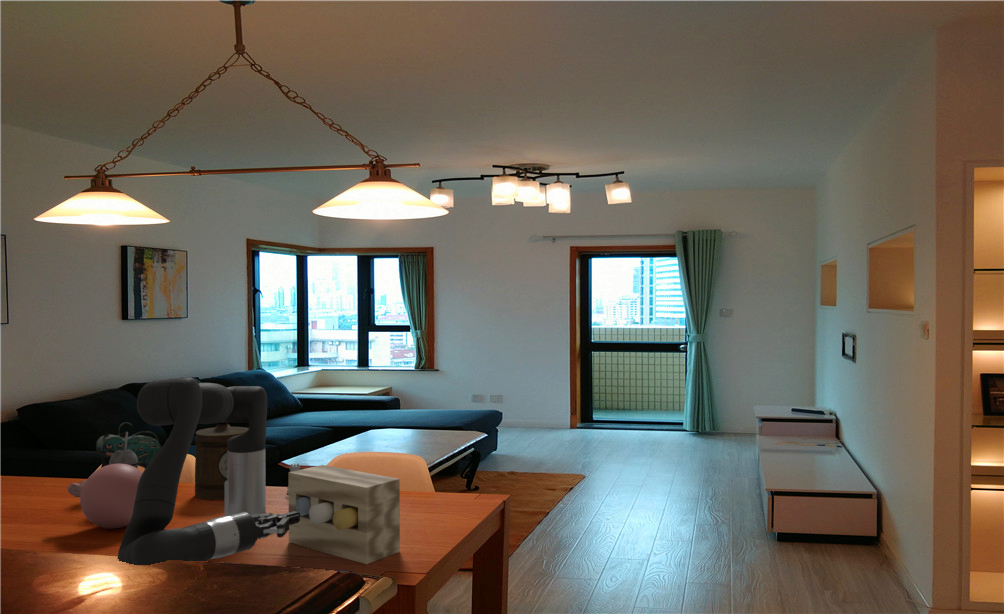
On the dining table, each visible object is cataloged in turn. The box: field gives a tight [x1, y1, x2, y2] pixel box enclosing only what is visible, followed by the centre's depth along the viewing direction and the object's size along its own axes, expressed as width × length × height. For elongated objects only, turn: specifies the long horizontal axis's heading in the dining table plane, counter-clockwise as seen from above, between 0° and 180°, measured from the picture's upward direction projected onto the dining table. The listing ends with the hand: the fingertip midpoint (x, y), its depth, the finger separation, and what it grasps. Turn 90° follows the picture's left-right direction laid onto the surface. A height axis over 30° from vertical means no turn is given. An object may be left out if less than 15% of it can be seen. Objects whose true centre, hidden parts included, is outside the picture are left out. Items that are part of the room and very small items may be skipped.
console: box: [288, 464, 401, 565], centre depth 176 cm, size 10×25×16 cm, turn 54°
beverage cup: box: [109, 431, 139, 469], centre depth 210 cm, size 7×7×20 cm
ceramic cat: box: [95, 421, 163, 470], centre depth 230 cm, size 20×6×20 cm, turn 147°
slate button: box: [296, 496, 311, 516], centre depth 178 cm, size 5×4×4 cm
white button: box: [309, 501, 334, 524], centre depth 171 cm, size 5×4×4 cm
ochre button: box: [333, 506, 358, 530], centre depth 167 cm, size 5×4×4 cm
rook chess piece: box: [286, 463, 302, 494], centre depth 226 cm, size 4×4×8 cm
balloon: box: [66, 464, 143, 530], centre depth 192 cm, size 15×20×15 cm
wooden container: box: [194, 421, 249, 501], centre depth 225 cm, size 15×15×22 cm
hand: (297, 516), depth 167 cm, fingers closed
